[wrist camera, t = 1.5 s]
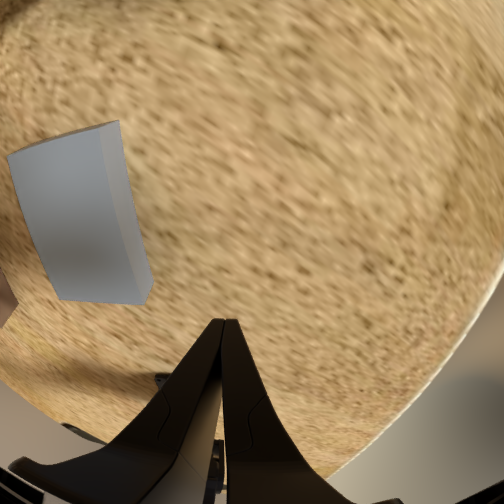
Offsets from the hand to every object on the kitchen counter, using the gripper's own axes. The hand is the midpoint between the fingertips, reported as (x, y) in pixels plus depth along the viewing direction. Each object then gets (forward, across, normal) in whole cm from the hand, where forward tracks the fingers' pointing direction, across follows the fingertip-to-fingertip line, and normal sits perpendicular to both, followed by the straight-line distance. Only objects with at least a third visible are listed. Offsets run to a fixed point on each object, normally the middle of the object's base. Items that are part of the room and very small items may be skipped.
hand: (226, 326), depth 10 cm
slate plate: (+10, +11, 0) cm, 15 cm away
